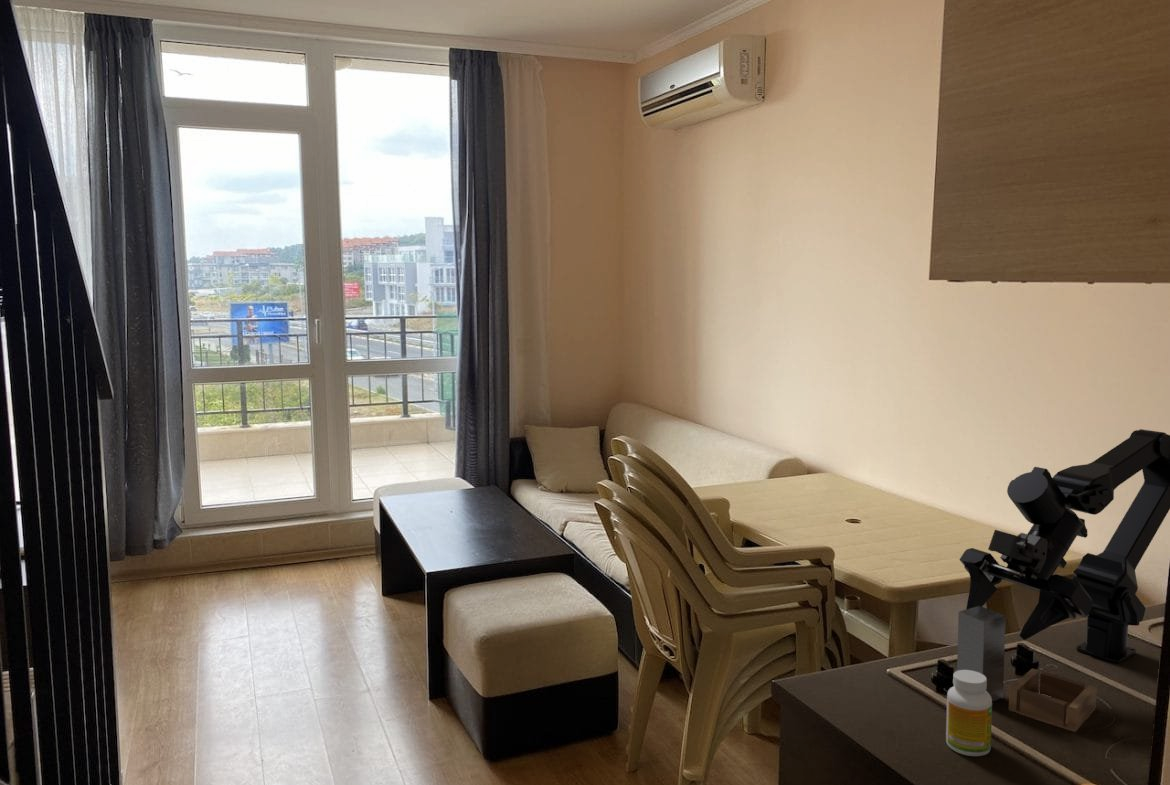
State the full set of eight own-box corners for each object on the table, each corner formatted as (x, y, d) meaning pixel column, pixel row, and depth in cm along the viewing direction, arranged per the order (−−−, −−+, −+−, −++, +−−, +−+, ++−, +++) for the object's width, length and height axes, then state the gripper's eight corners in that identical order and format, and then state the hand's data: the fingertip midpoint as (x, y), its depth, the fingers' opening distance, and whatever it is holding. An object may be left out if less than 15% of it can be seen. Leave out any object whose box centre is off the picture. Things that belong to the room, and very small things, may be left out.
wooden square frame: (1031, 691, 129) (1032, 668, 129) (1095, 711, 123) (1097, 686, 122) (1008, 712, 123) (1009, 688, 123) (1075, 734, 117) (1076, 708, 117)
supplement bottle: (995, 759, 111) (997, 687, 110) (950, 755, 112) (952, 684, 111) (985, 737, 116) (987, 668, 115) (942, 734, 117) (943, 665, 116)
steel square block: (977, 685, 131) (979, 605, 129) (1002, 698, 127) (1005, 615, 125) (956, 692, 129) (958, 611, 127) (981, 705, 125) (984, 621, 123)
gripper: (969, 497, 136) (916, 577, 133) (1083, 525, 119) (1026, 618, 116) (1002, 538, 141) (952, 617, 137) (1116, 571, 124) (1062, 662, 120)
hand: (993, 627), depth 128 cm, fingers open, 9 cm apart
